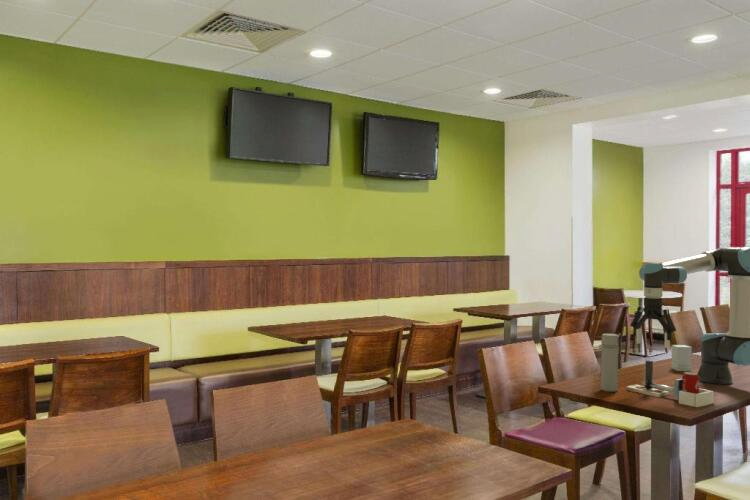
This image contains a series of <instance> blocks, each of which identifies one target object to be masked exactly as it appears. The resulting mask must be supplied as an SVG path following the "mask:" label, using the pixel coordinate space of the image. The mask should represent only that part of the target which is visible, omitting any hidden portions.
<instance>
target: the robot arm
mask: <svg viewBox="0 0 750 500" xmlns="http://www.w3.org/2000/svg"><path fill="white" fill-rule="evenodd" d="M702 271H704V272H712V271H713V272H714V271H719V272H727V277H728V278H729V279H730V280H731V281H730V296H729V297H730V299H729V324H728V331H727V332H723V333H722V332H721V333H720V332H719V333H714V332H713V333H711V332H710V333H709V332H708V333H704V334H702V336H701V350H700V351H701V352H700V353H701V362H700V367H699V368H698V372H697V375H698V376H699V382H703V383H707V384H715V385H730V384H732V383H733V376H732V372H731V369H730V366H729V365H730V364H733V365H737V366H743V367H744V366H745V367H747V366H750V247H747V246H724V247H723V246H722V247H719V248H715V249H711V250H708V251H707V250H706V251H703V252H701V253H700V254H698V255H694V256H689V257H684V258H680V259H676V260H675V259H674V260H670V261H666V262H660V261H658V262H655V261H654V262H653V261H650V262H649V261H647V262H645V263H644V265H642V266H641V267H639V271H638V274H639V279H641V280H642V281H643V286H644V287H643V297H644V298H643V306H637V307H636V308H637V310H636V313H635V315H634V318H633V319H632V321H631V324H630V327H632V328H634V336H636V337H635V338H636V339H635V342H636V343H635V344H638V345H639V344H642V328H641V327H642V325H644V323H645V322H646V321H647V320H648V319H653V320H656V321H658V322H659V323H660V325H661V326H662V327H663V329H664V331H665V332H664V349H669V348H670V344H671V341H672V335H673V334H672V333H674V332H676V331H677V328H676V327H675V324H674V322H673V319H672V317H671V315H670V310H669V308H667V309H662V308H663V285H664V284H676V285H677V284H683V283H685V282H686V280H687V278H688V274H689V275H690V274H693V273H699V272H702ZM643 312H644V313H643ZM642 314H643V315H642ZM641 316H642V317H641ZM729 363H730V364H729Z"/></svg>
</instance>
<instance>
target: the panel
mask: <svg viewBox="0 0 750 500" xmlns="http://www.w3.org/2000/svg"><path fill="white" fill-rule="evenodd" d="M625 391H629V392H633V393H637V392H638V393H639V394H641V395H642V394H643V395H647V396H651V397H656V398H662V397H665V396H669V395H670V392H668V391H663V390H659V389H654V388H652V389H646V388H645V386H643V385H639V384H632V385H628V386H625Z"/></svg>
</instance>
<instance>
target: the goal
mask: <svg viewBox="0 0 750 500" xmlns="http://www.w3.org/2000/svg"><path fill="white" fill-rule="evenodd" d="M714 395H715V394H714V391H713V390H709V389H704V388H700V387H699V393H698V394H694V393H689V392H684V391H679V399H678V404H682V405H685V406H689V407H695V408H700V407H704V406H708V405H712V404H714V403H715V402H714Z"/></svg>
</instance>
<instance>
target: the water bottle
mask: <svg viewBox="0 0 750 500" xmlns="http://www.w3.org/2000/svg"><path fill="white" fill-rule="evenodd" d="M598 346H599V347H598V348H599V352H598V354H600V357H598V358H597V359H598V361H599V364H597V365H596V369H598V368H599V377H598V376H596V379H600V389H601V390H602V391H603V392H606V393H607V392H608V393H615V392H617V391H619V390H618V389H619V334H616V333H602V334H601V344H599V345H598ZM595 373H596V375H598V371H596V372H595Z"/></svg>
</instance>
